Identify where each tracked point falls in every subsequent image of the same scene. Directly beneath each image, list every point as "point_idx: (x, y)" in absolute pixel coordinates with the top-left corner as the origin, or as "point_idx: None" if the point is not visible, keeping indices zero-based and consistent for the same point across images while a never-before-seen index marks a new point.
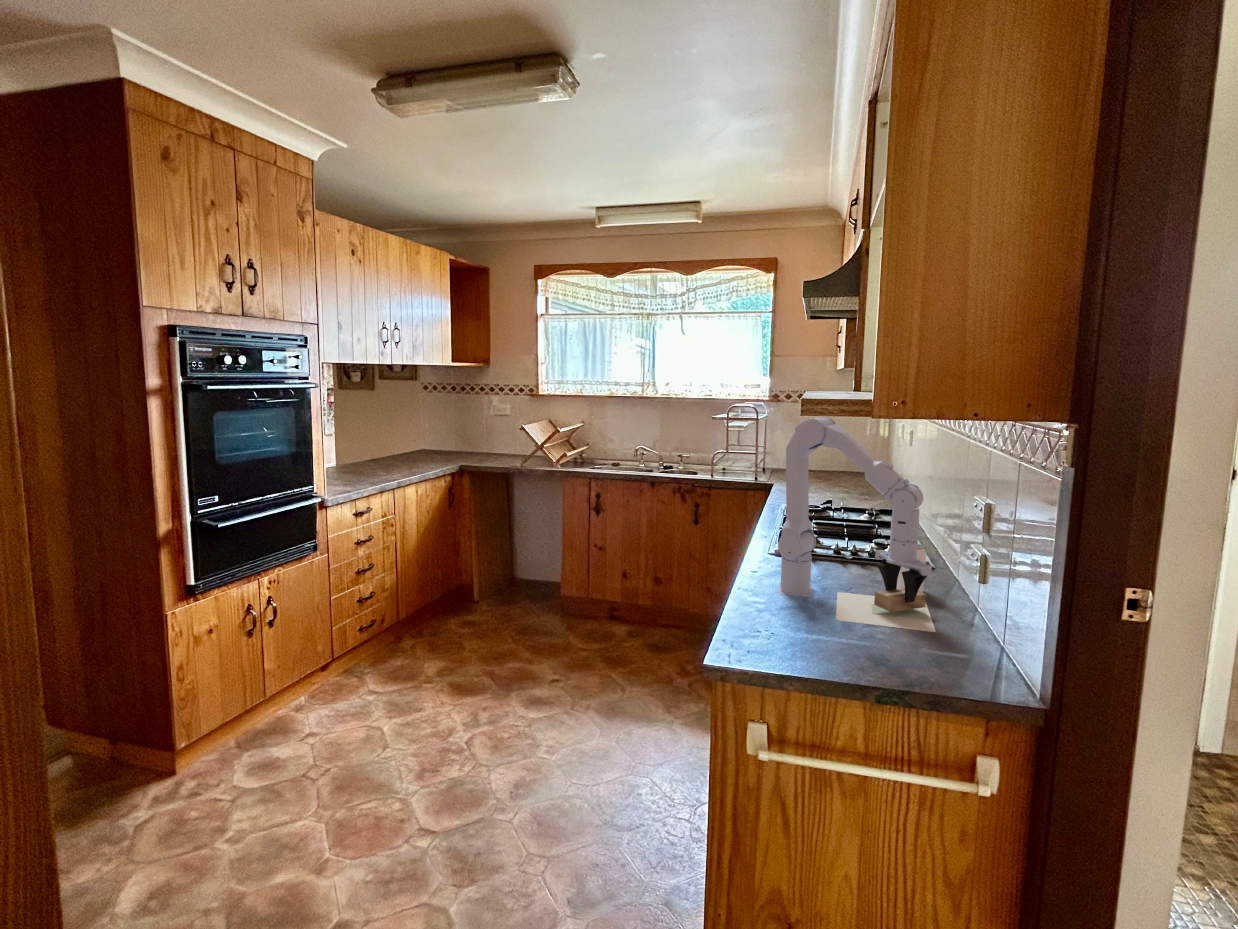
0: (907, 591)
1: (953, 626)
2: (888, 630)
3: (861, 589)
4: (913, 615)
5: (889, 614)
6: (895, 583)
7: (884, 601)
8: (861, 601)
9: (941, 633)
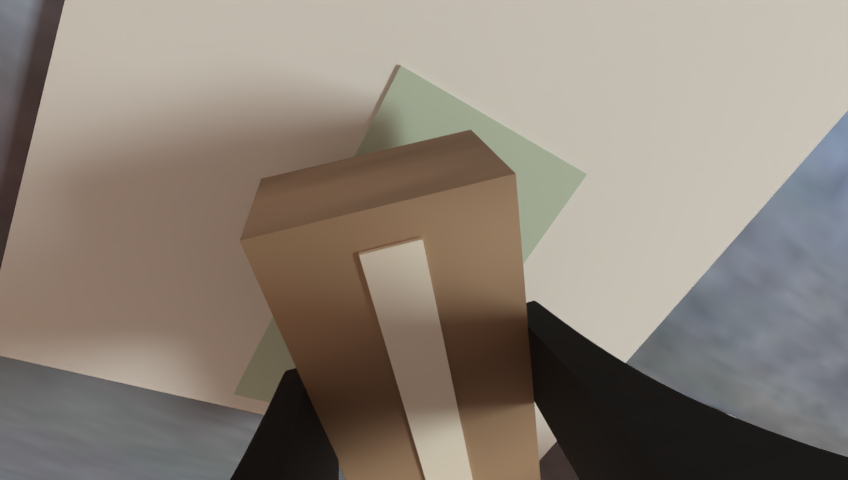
0: (243, 463)
1: (185, 469)
2: (35, 18)
3: (836, 261)
4: None
5: None
6: (565, 441)
7: (350, 188)
8: (666, 133)
9: (40, 379)
